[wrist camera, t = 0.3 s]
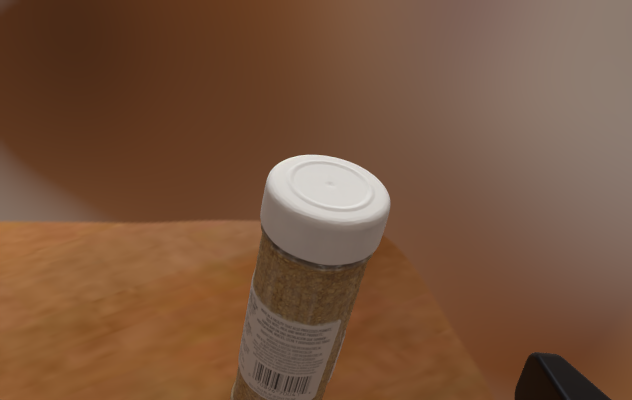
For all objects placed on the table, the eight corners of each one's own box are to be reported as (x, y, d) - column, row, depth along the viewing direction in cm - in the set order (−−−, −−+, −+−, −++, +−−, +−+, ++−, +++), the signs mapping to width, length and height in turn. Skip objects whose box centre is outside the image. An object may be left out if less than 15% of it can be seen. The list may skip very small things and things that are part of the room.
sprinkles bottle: (333, 394, 27) (410, 182, 20) (290, 467, 24) (364, 243, 16) (259, 351, 28) (305, 137, 21) (208, 415, 25) (241, 183, 17)
